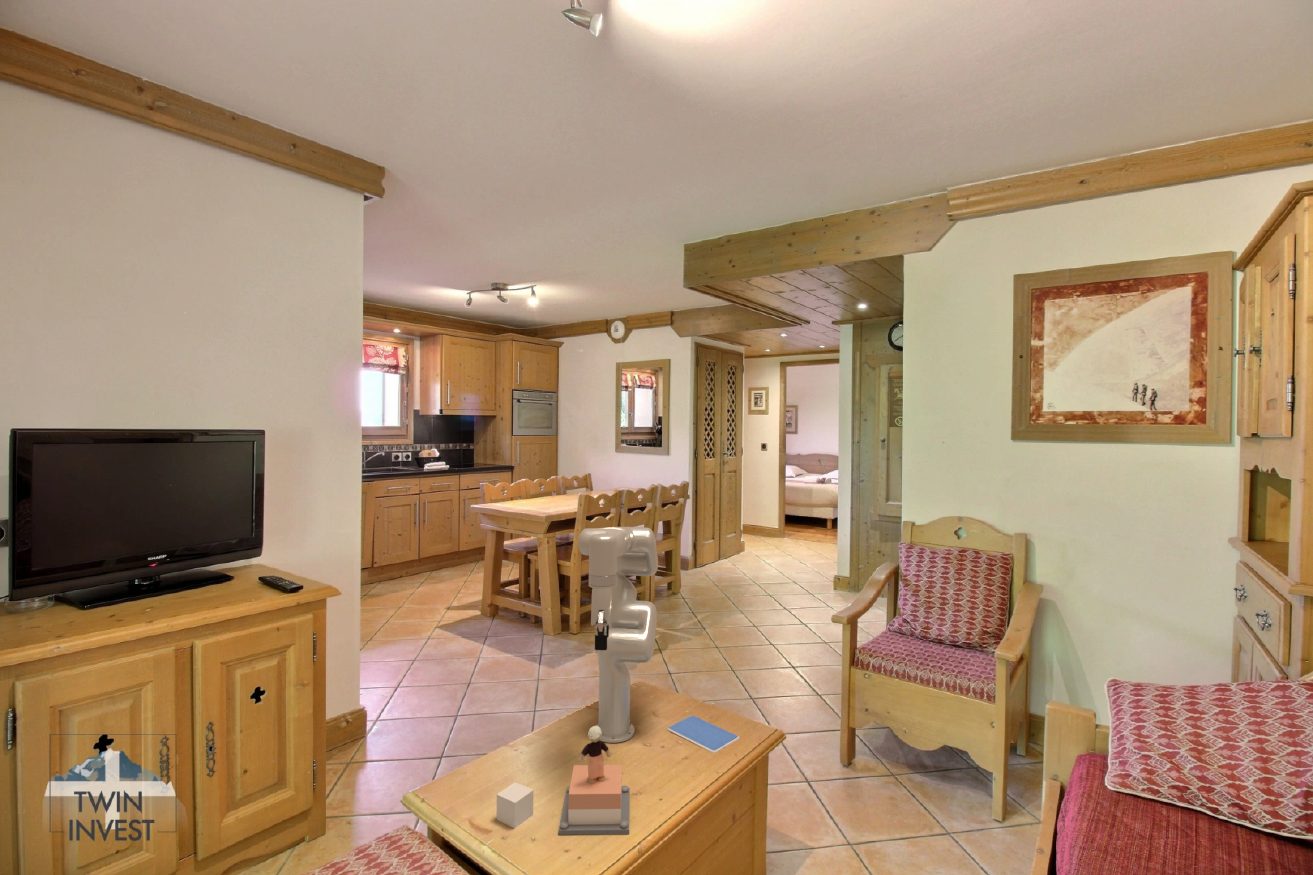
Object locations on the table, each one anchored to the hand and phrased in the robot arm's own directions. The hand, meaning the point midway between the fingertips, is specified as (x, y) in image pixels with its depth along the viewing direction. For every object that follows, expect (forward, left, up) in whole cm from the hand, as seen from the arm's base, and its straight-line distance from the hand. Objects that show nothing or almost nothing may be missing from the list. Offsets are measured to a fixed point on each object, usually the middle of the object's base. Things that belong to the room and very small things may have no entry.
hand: (601, 643), depth 160 cm
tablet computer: (-19, +30, -35) cm, 50 cm away
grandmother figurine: (+18, -1, -26) cm, 32 cm away
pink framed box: (+18, 0, -34) cm, 39 cm away
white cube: (+19, -19, -35) cm, 44 cm away
